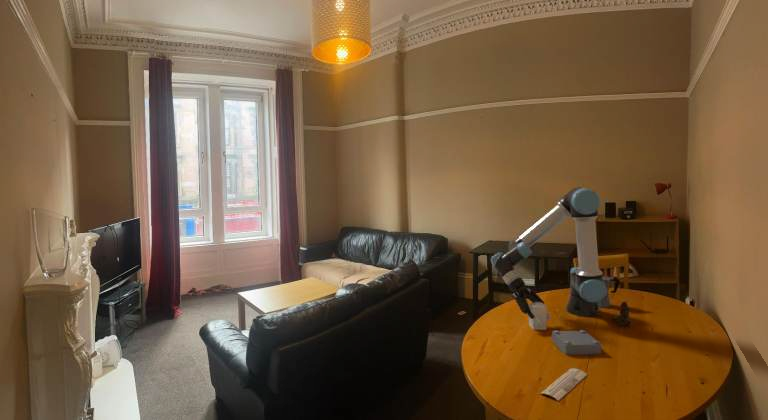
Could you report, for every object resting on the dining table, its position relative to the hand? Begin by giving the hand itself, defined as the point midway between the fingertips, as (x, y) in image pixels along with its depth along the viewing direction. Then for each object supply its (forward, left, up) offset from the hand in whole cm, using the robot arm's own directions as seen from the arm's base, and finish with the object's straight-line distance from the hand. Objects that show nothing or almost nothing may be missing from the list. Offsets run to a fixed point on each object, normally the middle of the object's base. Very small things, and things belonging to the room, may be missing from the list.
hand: (544, 321), depth 188 cm
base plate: (-6, +19, -4) cm, 21 cm away
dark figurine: (-39, -6, -4) cm, 40 cm away
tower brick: (+2, -3, -4) cm, 5 cm away
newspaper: (+10, +49, -5) cm, 51 cm away
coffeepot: (-43, -32, -4) cm, 53 cm away
